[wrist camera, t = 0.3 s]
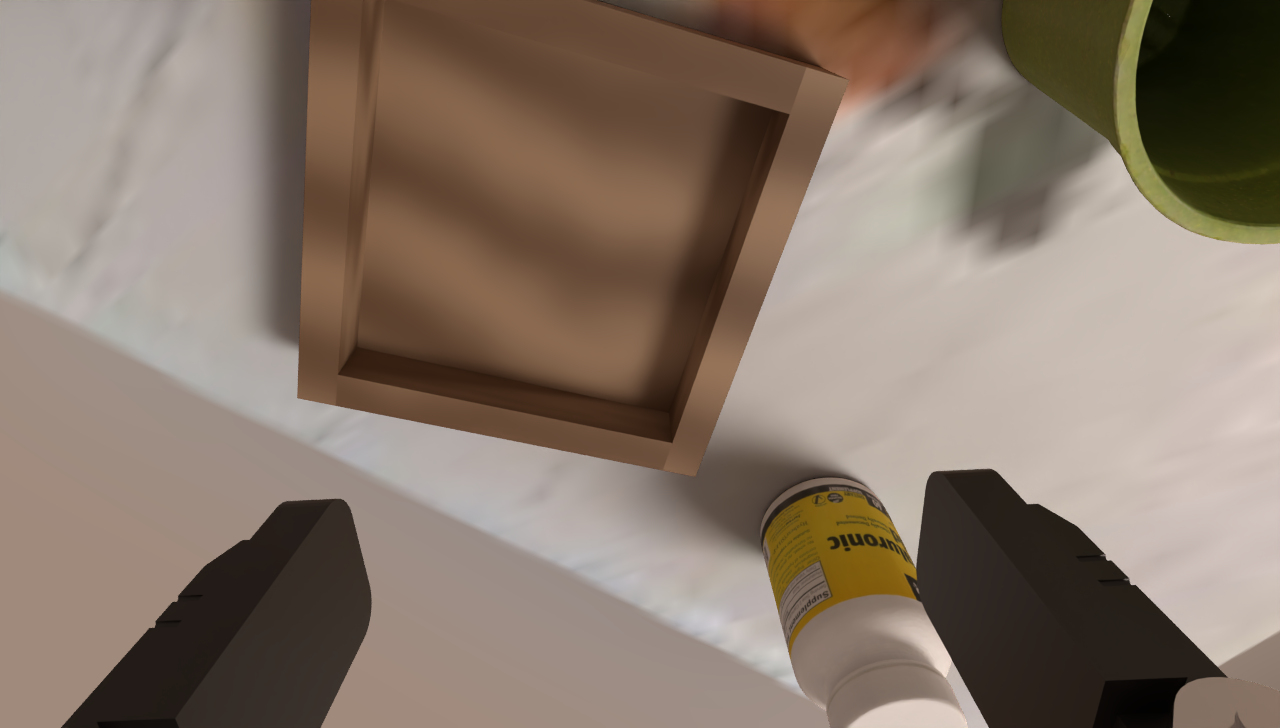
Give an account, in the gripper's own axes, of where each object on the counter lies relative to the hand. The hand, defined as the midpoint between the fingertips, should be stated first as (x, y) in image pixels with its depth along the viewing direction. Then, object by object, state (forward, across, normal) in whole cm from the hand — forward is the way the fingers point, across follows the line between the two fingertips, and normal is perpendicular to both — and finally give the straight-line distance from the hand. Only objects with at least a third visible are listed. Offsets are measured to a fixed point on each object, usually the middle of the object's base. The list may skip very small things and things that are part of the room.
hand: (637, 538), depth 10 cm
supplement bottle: (+25, -9, +17) cm, 32 cm away
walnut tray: (+22, +4, 0) cm, 22 cm away
